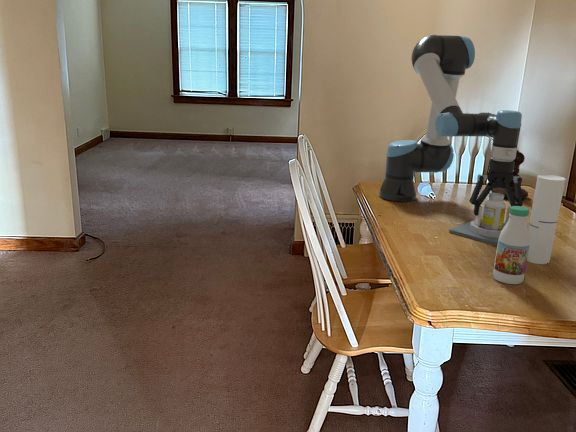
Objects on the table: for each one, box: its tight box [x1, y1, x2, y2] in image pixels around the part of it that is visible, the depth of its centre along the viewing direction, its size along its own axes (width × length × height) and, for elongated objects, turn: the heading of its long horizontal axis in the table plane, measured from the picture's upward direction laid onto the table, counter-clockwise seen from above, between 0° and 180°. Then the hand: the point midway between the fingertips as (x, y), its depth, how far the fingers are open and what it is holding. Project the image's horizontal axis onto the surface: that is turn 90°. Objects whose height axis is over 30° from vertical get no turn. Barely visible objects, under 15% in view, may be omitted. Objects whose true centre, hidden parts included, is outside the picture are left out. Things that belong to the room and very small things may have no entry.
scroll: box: [490, 149, 529, 201], centre depth 224 cm, size 15×15×20 cm
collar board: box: [448, 218, 505, 247], centre depth 177 cm, size 20×20×3 cm
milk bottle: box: [492, 206, 530, 285], centre depth 138 cm, size 8×8×20 cm
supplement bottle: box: [481, 192, 507, 231], centre depth 175 cm, size 7×7×13 cm
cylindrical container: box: [527, 174, 566, 265], centre depth 152 cm, size 7×7×25 cm
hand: (492, 225), depth 177 cm, fingers closed on collar board, 9 cm apart
